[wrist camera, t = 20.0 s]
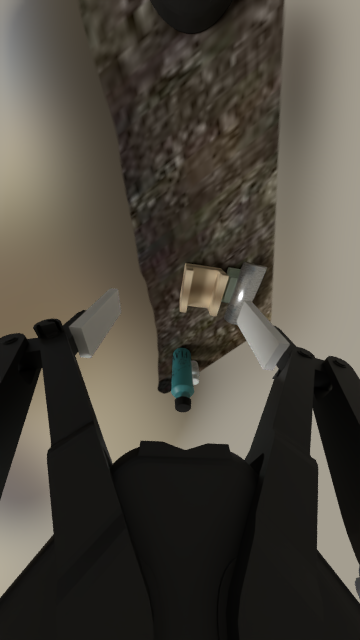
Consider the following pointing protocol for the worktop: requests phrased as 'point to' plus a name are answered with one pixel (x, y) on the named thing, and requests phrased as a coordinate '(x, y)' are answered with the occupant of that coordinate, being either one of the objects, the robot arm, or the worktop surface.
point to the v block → (230, 284)
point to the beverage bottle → (182, 379)
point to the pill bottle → (195, 372)
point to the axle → (244, 289)
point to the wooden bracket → (202, 287)
